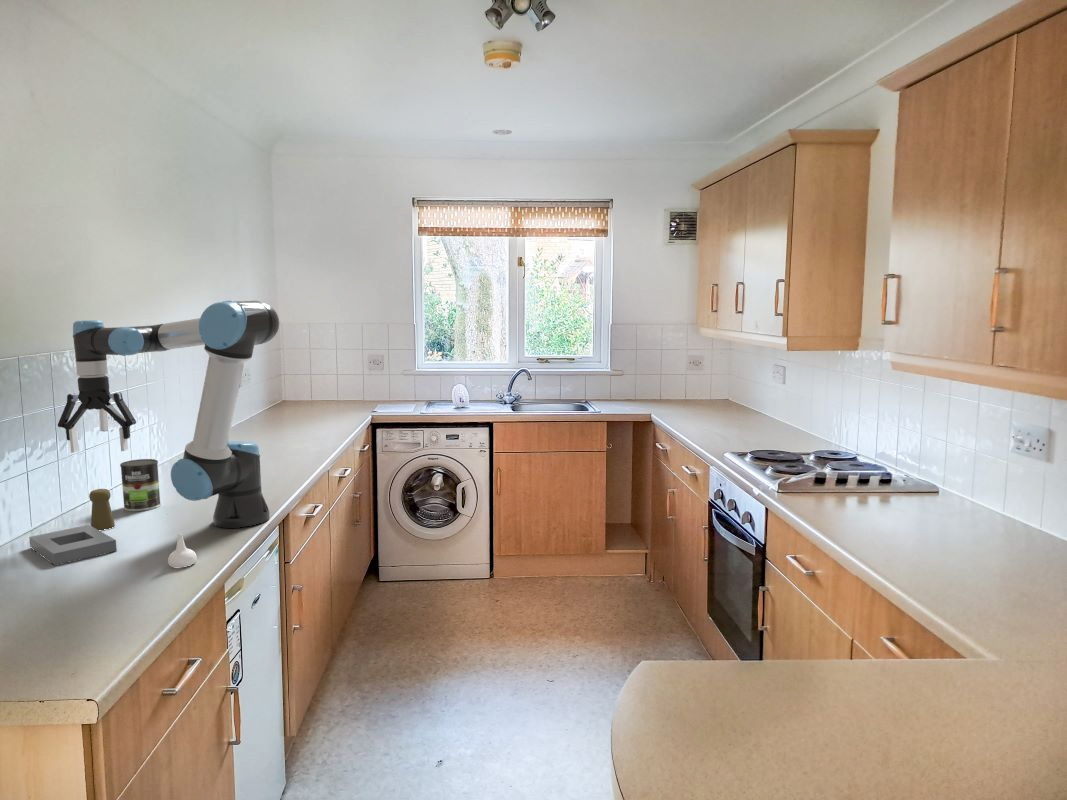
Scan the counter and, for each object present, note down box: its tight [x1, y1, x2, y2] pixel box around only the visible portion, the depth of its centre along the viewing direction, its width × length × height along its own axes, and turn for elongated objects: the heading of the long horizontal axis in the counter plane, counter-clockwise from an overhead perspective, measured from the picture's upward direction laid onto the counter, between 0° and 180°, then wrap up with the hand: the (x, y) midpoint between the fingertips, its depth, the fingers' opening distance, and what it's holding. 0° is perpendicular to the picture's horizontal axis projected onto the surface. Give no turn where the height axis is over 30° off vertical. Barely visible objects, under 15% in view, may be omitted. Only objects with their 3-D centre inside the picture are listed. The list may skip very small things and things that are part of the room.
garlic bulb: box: [167, 532, 198, 568], centre depth 187 cm, size 6×6×8 cm
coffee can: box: [120, 458, 162, 512], centre depth 238 cm, size 10×10×14 cm
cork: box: [88, 488, 116, 531], centre depth 218 cm, size 6×6×11 cm
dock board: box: [29, 524, 118, 566], centre depth 199 cm, size 20×14×3 cm
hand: (99, 451), depth 219 cm, fingers open, 13 cm apart
